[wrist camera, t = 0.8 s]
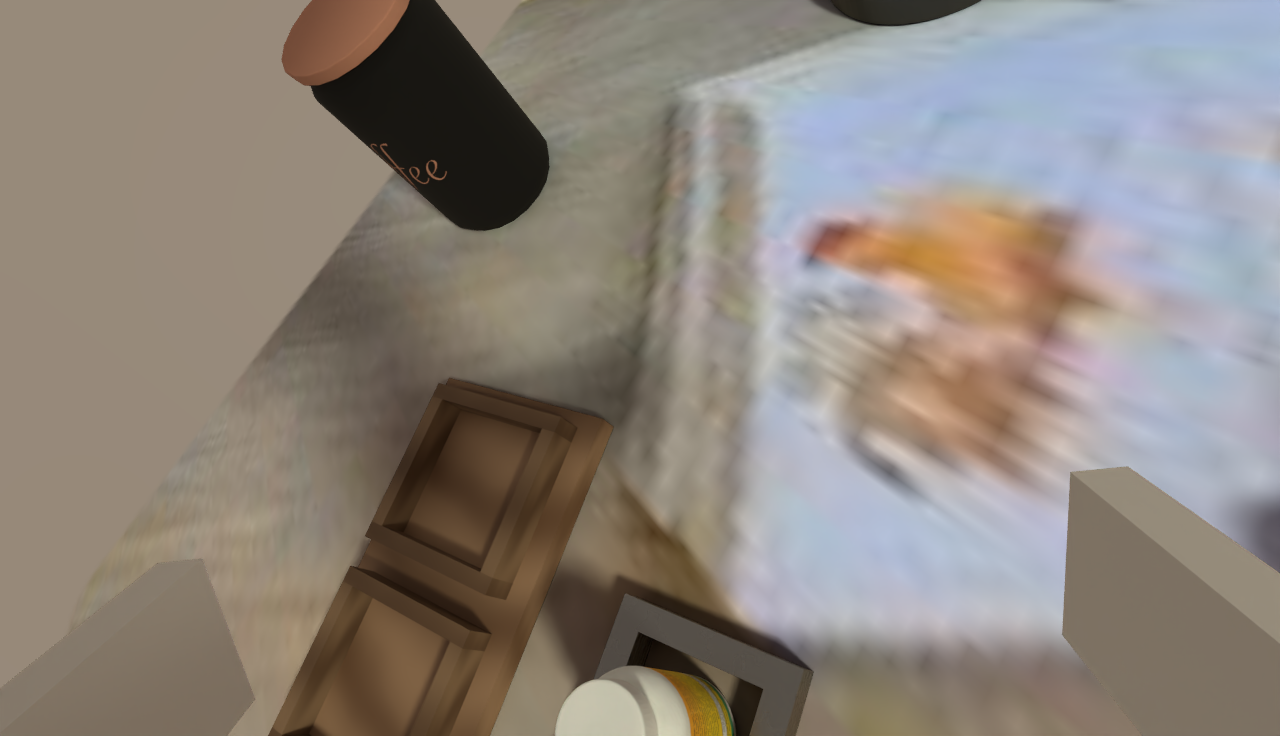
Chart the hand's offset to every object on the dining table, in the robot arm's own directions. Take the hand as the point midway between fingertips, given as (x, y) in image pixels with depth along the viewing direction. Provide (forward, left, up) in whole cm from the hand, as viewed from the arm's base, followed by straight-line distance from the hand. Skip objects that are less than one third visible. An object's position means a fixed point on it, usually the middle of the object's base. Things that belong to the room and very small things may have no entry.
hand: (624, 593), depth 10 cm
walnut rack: (+5, -26, -26) cm, 37 cm away
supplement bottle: (+6, -8, -27) cm, 28 cm away
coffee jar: (-26, -39, -27) cm, 54 cm away
